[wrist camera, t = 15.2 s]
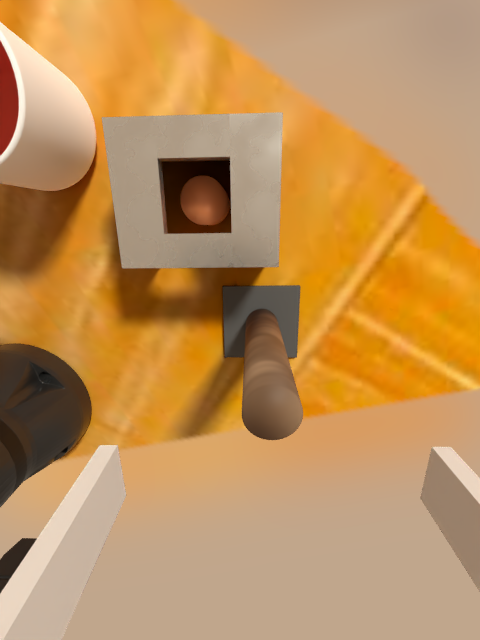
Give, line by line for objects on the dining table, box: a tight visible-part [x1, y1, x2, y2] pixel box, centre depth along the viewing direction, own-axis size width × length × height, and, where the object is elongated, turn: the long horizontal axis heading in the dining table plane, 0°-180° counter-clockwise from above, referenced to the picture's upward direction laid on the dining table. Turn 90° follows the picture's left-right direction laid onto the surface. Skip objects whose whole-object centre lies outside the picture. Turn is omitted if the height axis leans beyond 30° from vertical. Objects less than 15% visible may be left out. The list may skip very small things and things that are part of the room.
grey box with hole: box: [102, 113, 283, 268], centre depth 25 cm, size 12×10×8 cm
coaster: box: [223, 286, 300, 357], centre depth 32 cm, size 8×8×1 cm
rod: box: [242, 309, 303, 440], centre depth 24 cm, size 3×3×16 cm
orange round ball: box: [180, 176, 230, 225], centre depth 26 cm, size 4×4×4 cm
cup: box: [0, 22, 96, 191], centre depth 22 cm, size 10×10×10 cm
